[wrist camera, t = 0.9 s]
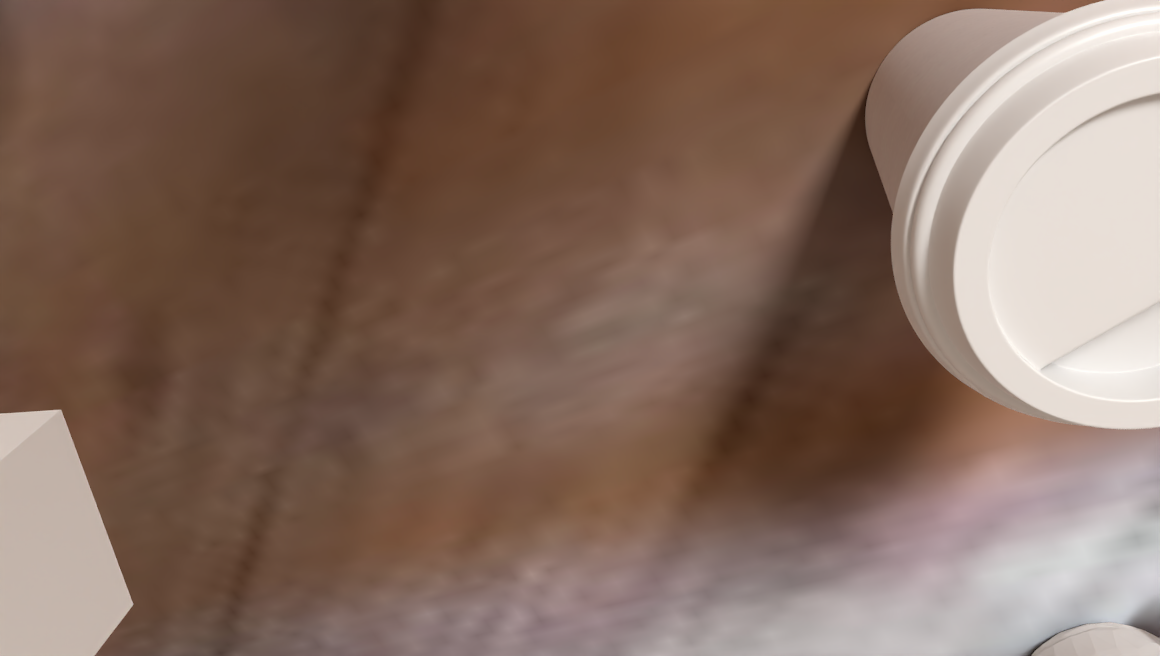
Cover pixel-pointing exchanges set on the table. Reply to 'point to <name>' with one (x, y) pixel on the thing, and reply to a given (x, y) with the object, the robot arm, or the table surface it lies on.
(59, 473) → the robot arm
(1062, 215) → the coffee cup
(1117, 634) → the mug
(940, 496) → the table surface
